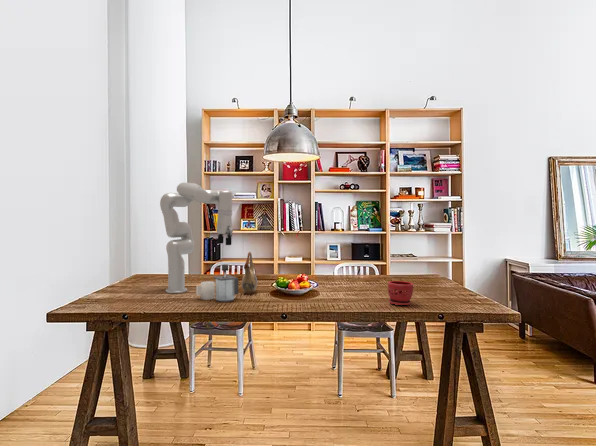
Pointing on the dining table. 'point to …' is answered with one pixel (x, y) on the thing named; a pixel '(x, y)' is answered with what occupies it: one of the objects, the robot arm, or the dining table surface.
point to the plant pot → (400, 292)
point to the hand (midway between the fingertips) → (224, 244)
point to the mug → (206, 290)
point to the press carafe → (226, 288)
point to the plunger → (225, 269)
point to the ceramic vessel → (249, 276)
